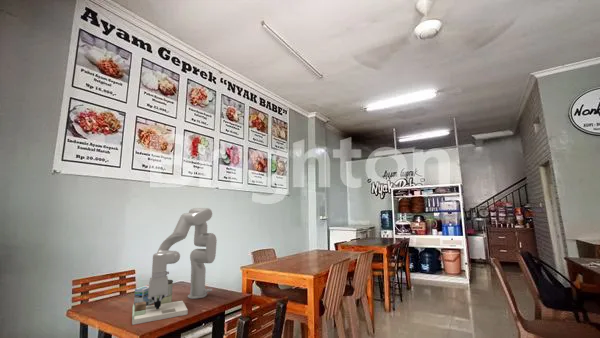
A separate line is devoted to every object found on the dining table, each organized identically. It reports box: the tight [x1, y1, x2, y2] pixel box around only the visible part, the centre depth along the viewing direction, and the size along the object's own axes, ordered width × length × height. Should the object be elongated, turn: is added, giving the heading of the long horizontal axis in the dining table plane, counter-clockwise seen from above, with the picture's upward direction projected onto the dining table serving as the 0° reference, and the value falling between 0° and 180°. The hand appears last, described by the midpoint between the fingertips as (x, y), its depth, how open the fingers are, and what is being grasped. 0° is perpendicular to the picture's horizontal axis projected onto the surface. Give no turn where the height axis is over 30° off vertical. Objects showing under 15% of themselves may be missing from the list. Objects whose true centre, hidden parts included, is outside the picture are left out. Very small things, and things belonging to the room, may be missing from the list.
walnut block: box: [135, 302, 146, 313], centre depth 156 cm, size 5×5×5 cm
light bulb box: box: [133, 284, 154, 307], centre depth 178 cm, size 11×7×11 cm, turn 168°
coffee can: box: [153, 279, 174, 305], centre depth 177 cm, size 10×10×14 cm
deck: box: [131, 300, 189, 326], centre depth 161 cm, size 27×20×4 cm
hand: (157, 308), depth 161 cm, fingers closed
